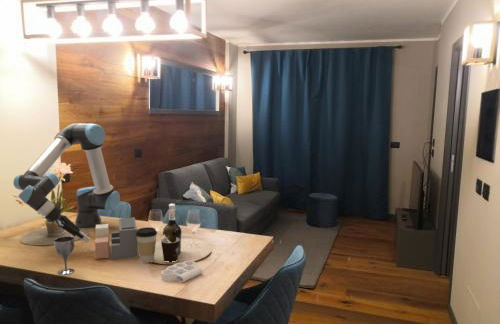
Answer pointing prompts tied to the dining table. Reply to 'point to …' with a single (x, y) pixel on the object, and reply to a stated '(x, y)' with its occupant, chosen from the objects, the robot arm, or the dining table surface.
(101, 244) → the terracotta key
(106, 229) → the cream key
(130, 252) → the console
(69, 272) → the wine glass
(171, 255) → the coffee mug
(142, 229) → the coffee cup
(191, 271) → the grey muffin tray
